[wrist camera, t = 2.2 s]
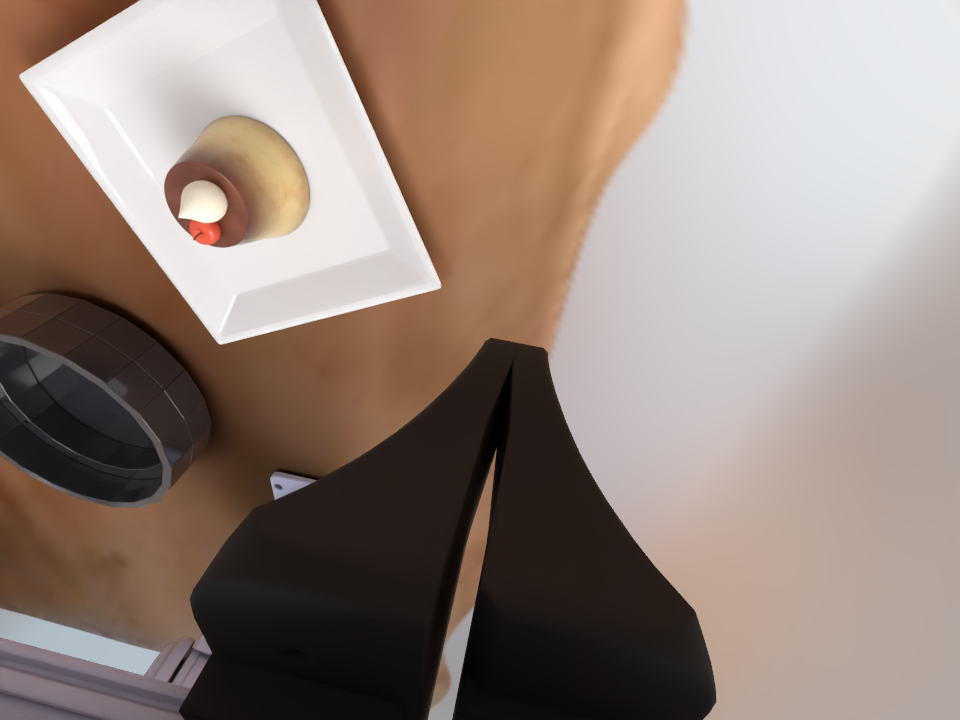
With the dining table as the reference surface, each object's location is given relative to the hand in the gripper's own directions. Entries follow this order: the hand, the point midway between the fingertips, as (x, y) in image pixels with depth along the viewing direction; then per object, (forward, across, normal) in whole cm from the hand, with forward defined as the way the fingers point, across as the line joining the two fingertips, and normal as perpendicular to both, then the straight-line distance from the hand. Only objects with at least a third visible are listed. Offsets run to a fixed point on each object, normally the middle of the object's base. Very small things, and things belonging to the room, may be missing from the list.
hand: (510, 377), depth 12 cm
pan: (+9, +22, +14) cm, 28 cm away
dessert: (+9, +12, 0) cm, 15 cm away
